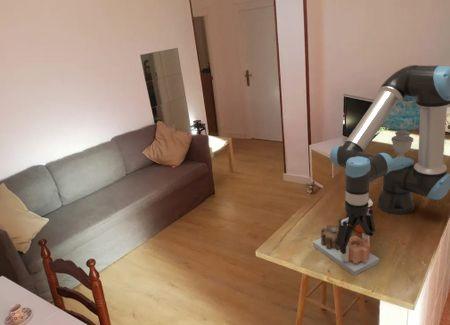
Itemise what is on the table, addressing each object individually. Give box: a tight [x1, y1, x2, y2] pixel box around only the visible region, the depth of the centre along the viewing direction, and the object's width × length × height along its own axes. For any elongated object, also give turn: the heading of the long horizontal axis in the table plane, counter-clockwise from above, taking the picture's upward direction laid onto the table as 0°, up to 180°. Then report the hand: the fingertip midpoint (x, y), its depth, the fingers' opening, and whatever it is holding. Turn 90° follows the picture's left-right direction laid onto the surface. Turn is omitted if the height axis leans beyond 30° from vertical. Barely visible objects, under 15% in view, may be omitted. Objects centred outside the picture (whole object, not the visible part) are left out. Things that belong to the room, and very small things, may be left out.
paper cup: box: [355, 197, 374, 233], centre depth 143 cm, size 8×8×14 cm
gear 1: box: [320, 225, 340, 250], centre depth 135 cm, size 10×10×6 cm
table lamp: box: [381, 96, 420, 158], centre depth 190 cm, size 24×24×40 cm
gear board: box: [312, 237, 380, 277], centre depth 131 cm, size 12×22×7 cm, turn 27°
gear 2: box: [347, 235, 371, 263], centre depth 126 cm, size 10×10×5 cm
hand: (355, 254), depth 126 cm, fingers closed on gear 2, 10 cm apart
